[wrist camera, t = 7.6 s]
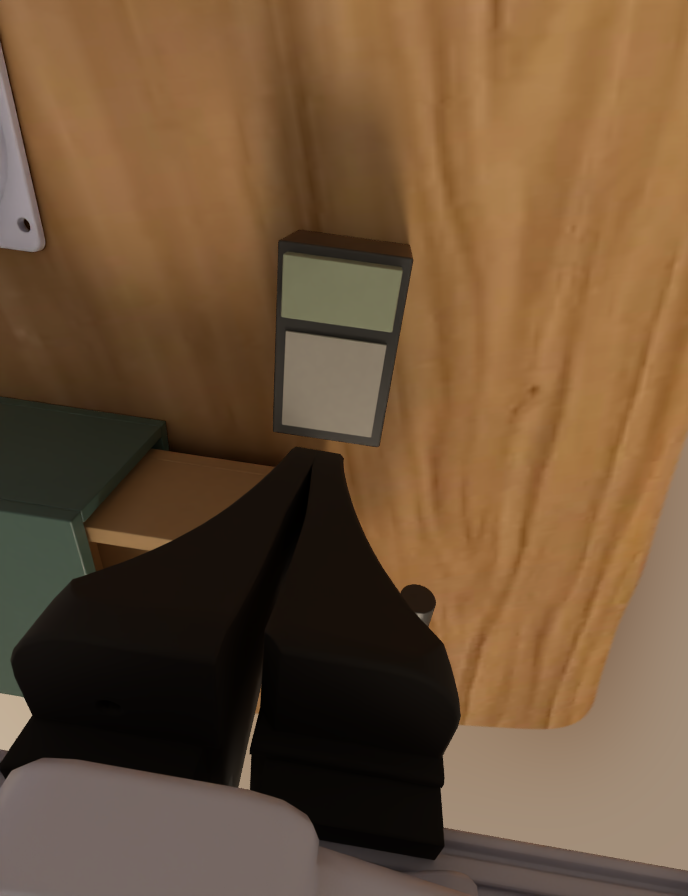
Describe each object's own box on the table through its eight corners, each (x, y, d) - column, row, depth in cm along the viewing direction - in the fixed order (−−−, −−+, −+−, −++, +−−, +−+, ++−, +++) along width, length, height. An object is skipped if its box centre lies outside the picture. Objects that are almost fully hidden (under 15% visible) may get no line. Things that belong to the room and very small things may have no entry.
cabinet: (165, 420, 22) (70, 521, 16) (186, 594, 29) (126, 714, 23) (-105, 380, 23) (-308, 462, 16) (-21, 561, 30) (-139, 670, 23)
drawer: (439, 480, 22) (452, 576, 16) (396, 632, 28) (396, 736, 23) (67, 424, 22) (-34, 500, 17) (108, 587, 28) (44, 678, 23)
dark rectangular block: (289, 397, 21) (268, 439, 17) (297, 229, 17) (273, 241, 14) (381, 410, 21) (378, 456, 17) (410, 244, 17) (414, 261, 14)
